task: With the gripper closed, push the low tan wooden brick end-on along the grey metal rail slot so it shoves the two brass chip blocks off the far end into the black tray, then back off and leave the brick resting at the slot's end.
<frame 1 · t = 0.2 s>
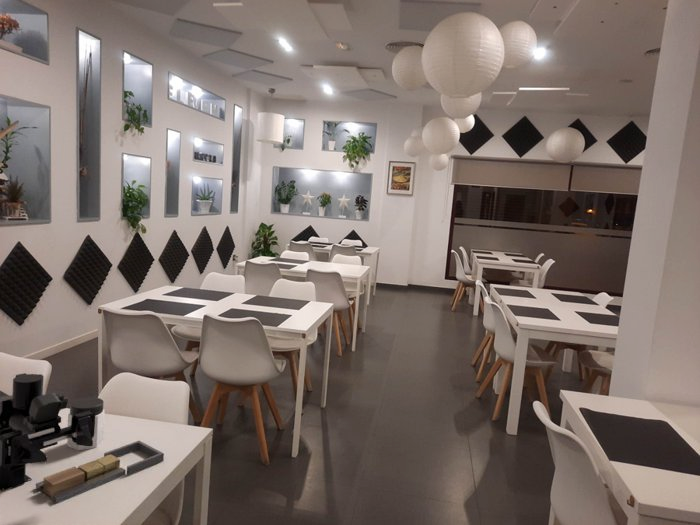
hand: (69, 451, 102), 16 cm above the table, tool horizontal, fingers open, 9 cm apart
chip a: (90, 477, 121), point 1 cm above the table, touching rail bed
jar: (85, 445, 138), on the table
tan wooden brick: (64, 488, 116), point 1 cm above the table, touching rail bed
rail bed: (82, 483, 119), on the table
tray: (132, 463, 130), on the table
chip b: (107, 471, 125), point 1 cm above the table, touching rail bed
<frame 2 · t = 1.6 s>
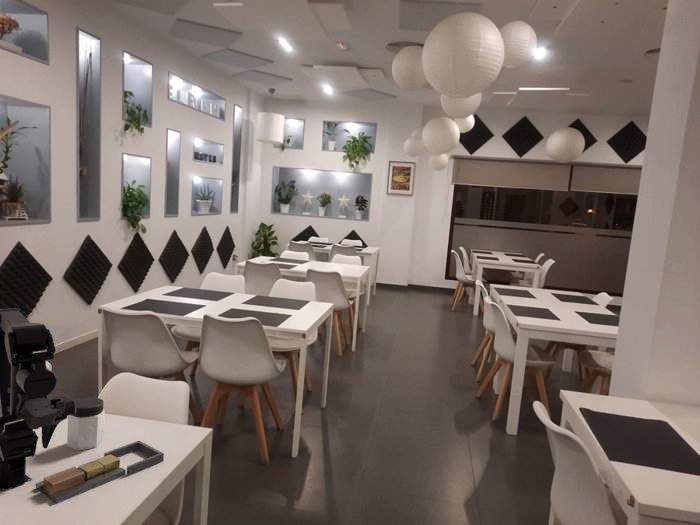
hand: (25, 454, 108), 12 cm above the table, tool pointing down, fingers open, 8 cm apart
nothing on the table moved.
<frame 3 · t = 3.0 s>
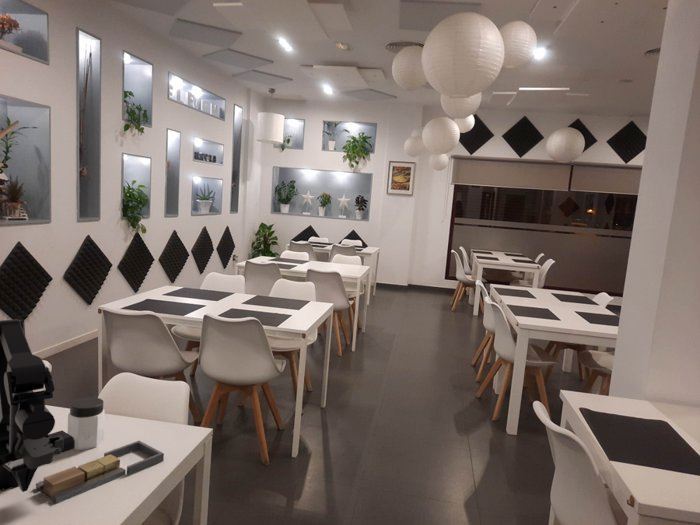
hand: (24, 490, 109), 4 cm above the table, tool pointing down, fingers closed
nothing on the table moved.
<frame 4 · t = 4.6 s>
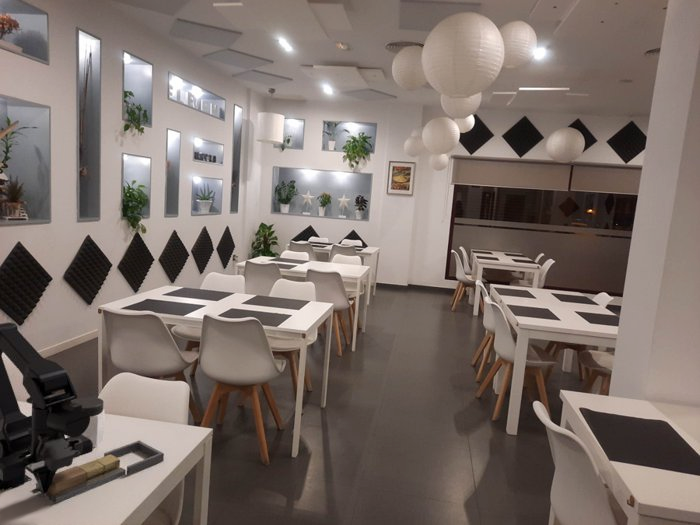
hand: (44, 492, 112), 2 cm above the table, tool pointing down, fingers closed
tan wooden brick: (66, 487, 116), point 1 cm above the table, touching gripper, rail bed
everything else where it was.
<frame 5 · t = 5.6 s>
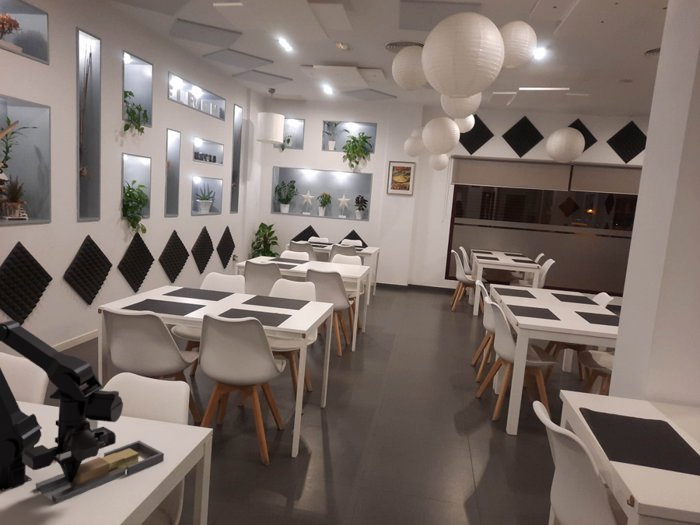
hand: (70, 481, 117), 2 cm above the table, tool pointing down, fingers closed
chip a: (111, 469, 126), point 1 cm above the table, touching chip b
tan wooden brick: (90, 478, 121), point 1 cm above the table, touching gripper, rail bed
chip b: (126, 464, 129), resting on tray, touching chip a
everything else where it was.
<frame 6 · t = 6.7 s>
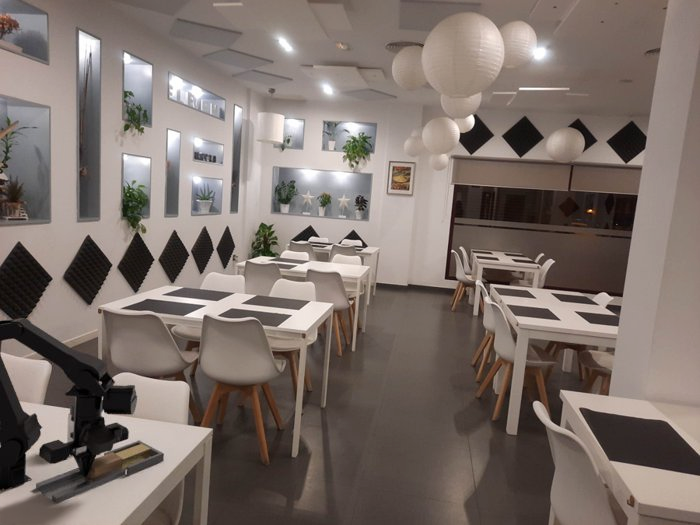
hand: (84, 476, 120), 2 cm above the table, tool pointing down, fingers closed
chip a: (124, 465, 128), resting on tray, touching chip b, tan wooden brick
tan wooden brick: (103, 472, 124), point 1 cm above the table, touching chip a, gripper, rail bed
chip b: (138, 459, 132), resting on tray, touching chip a
everything else where it was.
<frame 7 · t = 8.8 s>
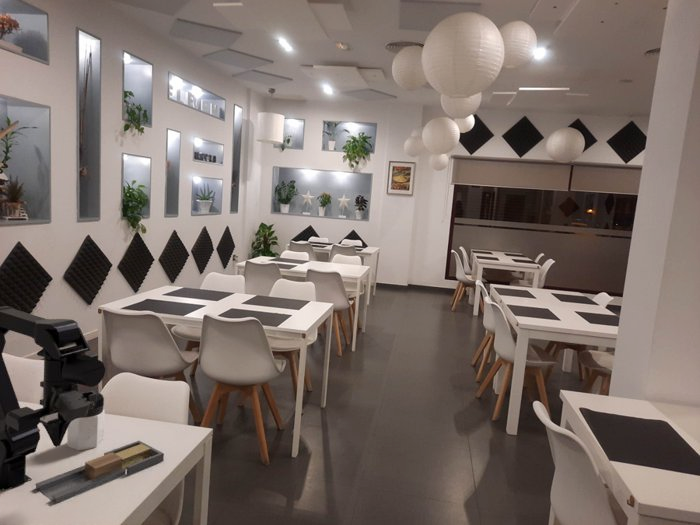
hand: (56, 445, 112), 12 cm above the table, tool pointing down, fingers closed
tan wooden brick: (103, 472, 124), point 1 cm above the table, touching chip a, rail bed
everything else where it was.
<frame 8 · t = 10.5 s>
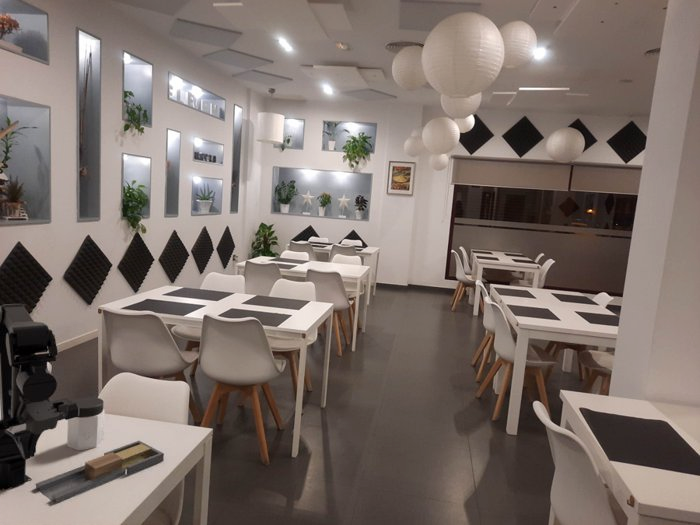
hand: (26, 458, 104), 13 cm above the table, tool pointing down, fingers closed
nothing on the table moved.
at the end: chip a inside the target area on the tray (2.3 cm from its centre), point 0.4 cm above the tray's base; chip b inside the target area on the tray (1.7 cm from its centre), point 0.4 cm above the tray's base; tan wooden brick moved 9.6 cm from its start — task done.
